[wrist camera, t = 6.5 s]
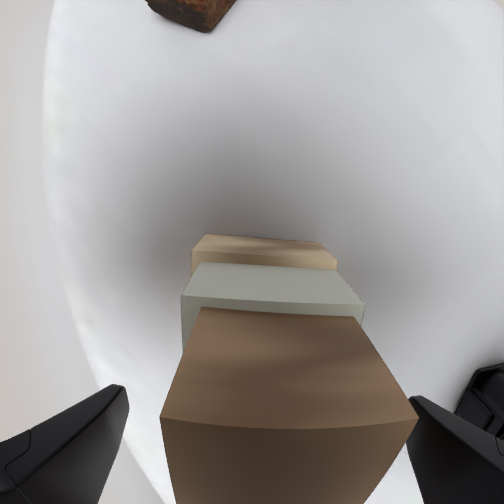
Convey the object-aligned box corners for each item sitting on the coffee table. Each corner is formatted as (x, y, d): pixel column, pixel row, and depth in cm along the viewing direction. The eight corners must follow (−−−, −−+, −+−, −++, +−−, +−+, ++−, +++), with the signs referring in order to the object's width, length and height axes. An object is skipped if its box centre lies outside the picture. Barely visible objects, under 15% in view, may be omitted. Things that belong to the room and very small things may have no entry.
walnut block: (353, 316, 10) (419, 417, 5) (323, 422, 11) (348, 521, 6) (201, 306, 9) (159, 416, 5) (201, 416, 11) (180, 520, 6)
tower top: (335, 269, 13) (365, 304, 9) (316, 377, 15) (331, 430, 11) (201, 261, 13) (181, 294, 9) (201, 372, 15) (188, 425, 11)
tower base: (319, 242, 17) (337, 260, 13) (304, 341, 19) (315, 378, 15) (205, 233, 17) (191, 249, 13) (202, 335, 19) (191, 371, 15)
